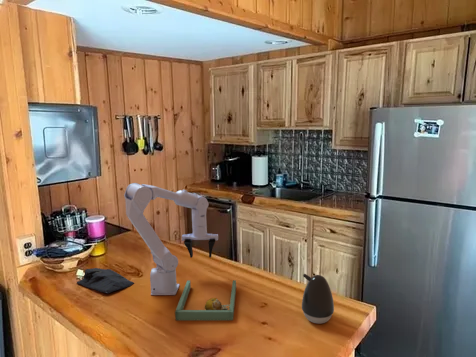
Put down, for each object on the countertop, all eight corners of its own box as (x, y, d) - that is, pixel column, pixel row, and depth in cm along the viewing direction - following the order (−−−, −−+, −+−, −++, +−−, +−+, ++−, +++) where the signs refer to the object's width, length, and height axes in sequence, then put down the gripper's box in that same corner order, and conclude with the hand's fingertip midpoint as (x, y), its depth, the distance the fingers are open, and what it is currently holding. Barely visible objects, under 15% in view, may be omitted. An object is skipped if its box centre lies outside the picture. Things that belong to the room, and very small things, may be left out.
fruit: (222, 318, 117) (222, 308, 116) (200, 314, 120) (199, 304, 119) (232, 306, 125) (231, 296, 124) (210, 302, 128) (210, 292, 127)
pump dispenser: (310, 306, 123) (310, 265, 120) (338, 317, 116) (340, 274, 113) (295, 320, 115) (295, 277, 112) (324, 332, 108) (325, 286, 105)
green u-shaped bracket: (175, 320, 117) (175, 312, 116) (187, 287, 138) (187, 280, 138) (233, 320, 116) (232, 312, 115) (236, 287, 137) (235, 280, 137)
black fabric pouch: (102, 300, 131) (101, 288, 130) (74, 283, 145) (73, 272, 144) (137, 284, 143) (136, 273, 142) (108, 270, 157) (107, 260, 156)
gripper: (218, 221, 145) (219, 252, 148) (183, 221, 146) (185, 252, 148) (216, 227, 138) (217, 259, 141) (179, 227, 139) (181, 259, 141)
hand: (200, 256), depth 144 cm, fingers open, 7 cm apart
